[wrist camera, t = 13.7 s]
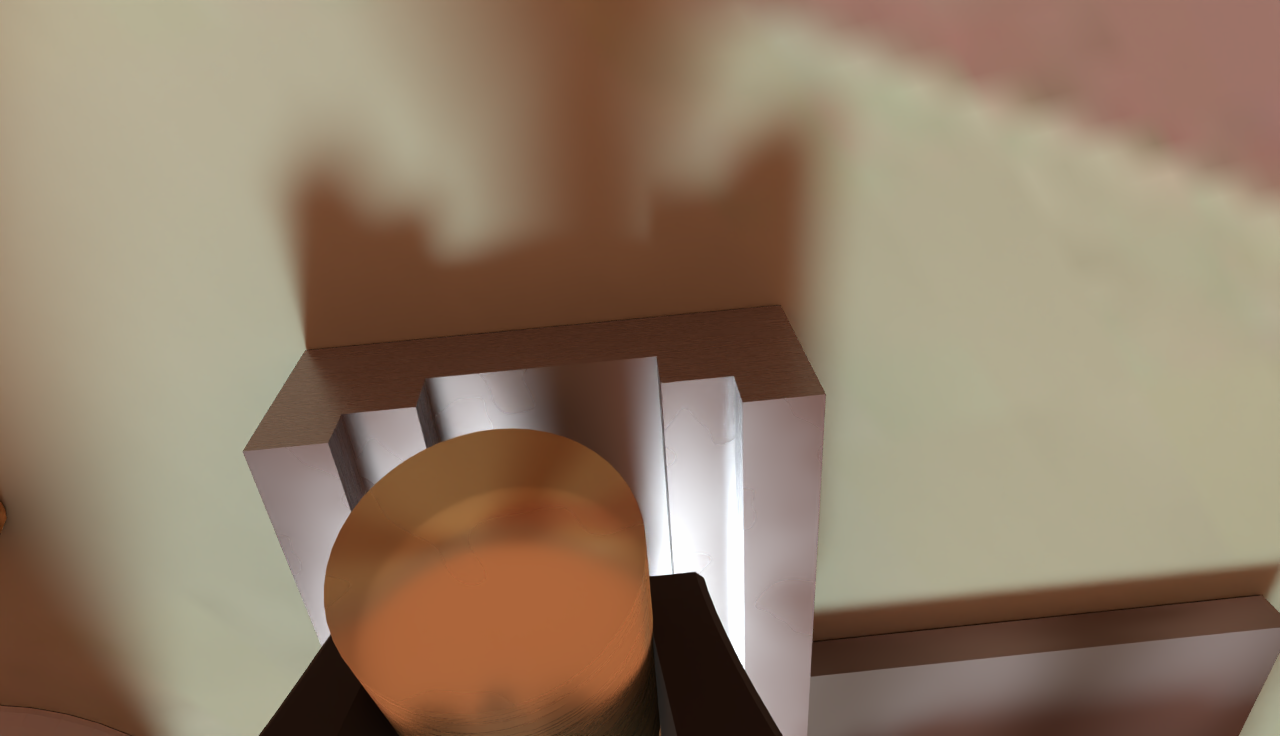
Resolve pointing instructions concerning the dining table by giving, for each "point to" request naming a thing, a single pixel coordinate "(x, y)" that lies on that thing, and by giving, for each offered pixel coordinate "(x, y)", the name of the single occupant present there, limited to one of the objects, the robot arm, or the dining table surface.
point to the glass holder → (48, 724)
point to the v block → (607, 424)
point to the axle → (498, 592)
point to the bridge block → (1053, 675)
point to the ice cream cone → (2, 516)
